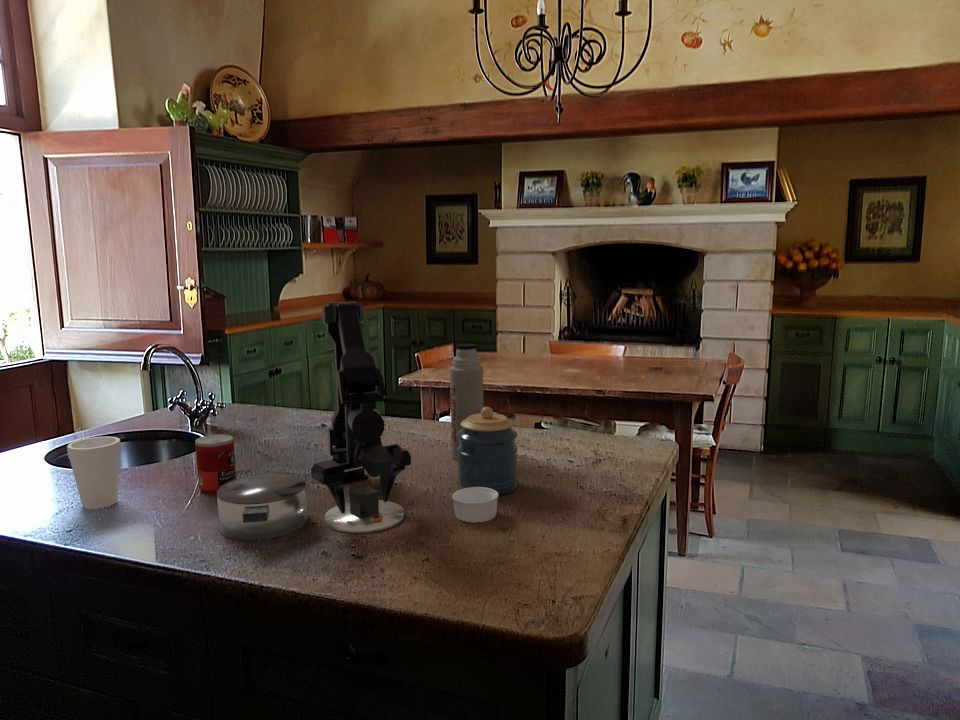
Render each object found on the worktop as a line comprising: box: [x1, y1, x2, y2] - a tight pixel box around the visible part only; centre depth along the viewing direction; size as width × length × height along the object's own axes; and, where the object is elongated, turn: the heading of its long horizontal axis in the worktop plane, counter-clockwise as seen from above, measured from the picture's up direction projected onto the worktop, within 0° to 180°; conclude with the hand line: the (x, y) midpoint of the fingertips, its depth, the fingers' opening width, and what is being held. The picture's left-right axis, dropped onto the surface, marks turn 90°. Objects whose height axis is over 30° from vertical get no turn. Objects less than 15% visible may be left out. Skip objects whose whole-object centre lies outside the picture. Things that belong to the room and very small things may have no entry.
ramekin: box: [452, 487, 499, 524], centre depth 137 cm, size 9×9×4 cm
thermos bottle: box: [449, 343, 485, 462], centre depth 172 cm, size 8×8×28 cm
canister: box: [457, 406, 519, 496], centre depth 151 cm, size 13×13×18 cm
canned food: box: [194, 433, 237, 494], centre depth 154 cm, size 8×8×11 cm
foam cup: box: [66, 435, 122, 510], centre depth 145 cm, size 10×9×13 cm
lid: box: [324, 485, 405, 534], centre depth 136 cm, size 15×15×6 cm
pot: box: [216, 471, 309, 541], centre depth 134 cm, size 23×16×7 cm
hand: (364, 507), depth 136 cm, fingers open, 9 cm apart
